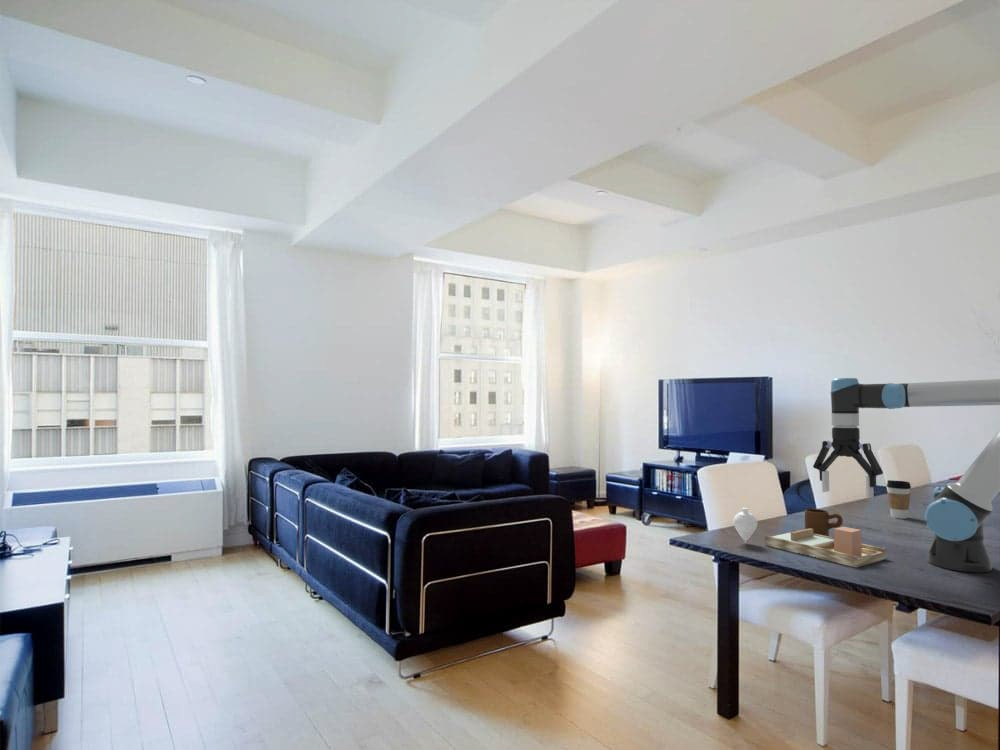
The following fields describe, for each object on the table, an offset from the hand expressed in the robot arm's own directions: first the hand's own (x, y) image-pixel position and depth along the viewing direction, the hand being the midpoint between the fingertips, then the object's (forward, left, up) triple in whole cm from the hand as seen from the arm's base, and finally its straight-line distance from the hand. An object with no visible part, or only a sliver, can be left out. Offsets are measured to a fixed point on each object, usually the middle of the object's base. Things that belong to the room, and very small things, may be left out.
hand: (847, 494), depth 186 cm
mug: (+18, -18, -20) cm, 32 cm away
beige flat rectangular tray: (+8, 0, -20) cm, 21 cm away
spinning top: (+28, +12, -20) cm, 37 cm away
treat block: (0, 0, -19) cm, 19 cm away
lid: (+15, 0, -18) cm, 23 cm away
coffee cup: (+21, -78, -20) cm, 83 cm away
